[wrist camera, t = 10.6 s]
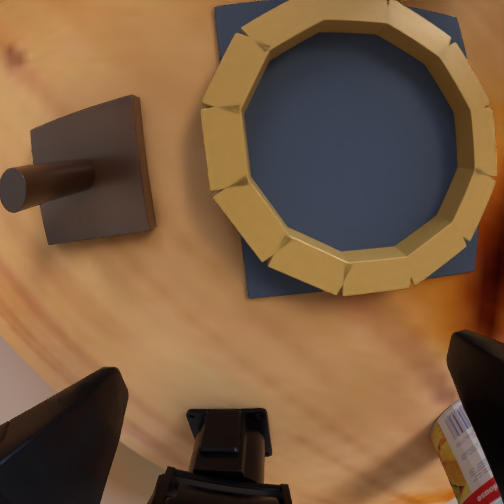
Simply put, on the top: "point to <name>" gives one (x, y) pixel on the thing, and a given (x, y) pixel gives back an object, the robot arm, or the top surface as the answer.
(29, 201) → the peg stand
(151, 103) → the top surface
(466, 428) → the canned food
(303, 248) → the hoop
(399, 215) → the felt mat
